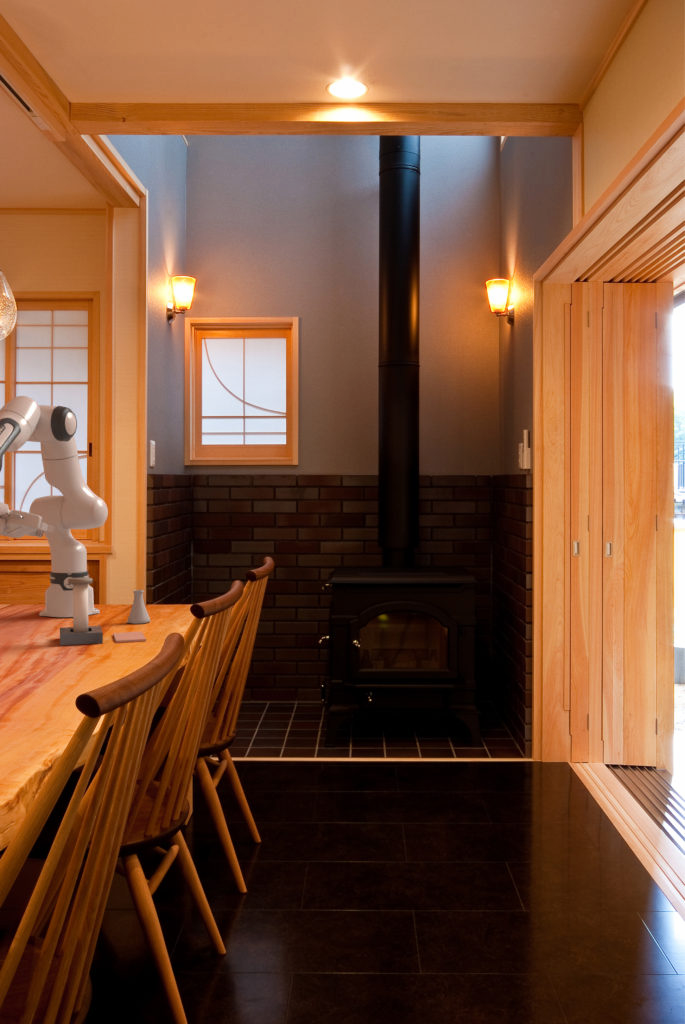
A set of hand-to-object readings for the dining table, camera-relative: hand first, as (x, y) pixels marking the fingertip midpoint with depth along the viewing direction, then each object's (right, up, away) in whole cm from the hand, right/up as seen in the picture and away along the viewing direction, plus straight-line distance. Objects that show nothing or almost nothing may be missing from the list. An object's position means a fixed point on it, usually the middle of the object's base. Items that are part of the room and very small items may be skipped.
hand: (47, 532), depth 238 cm
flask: (+17, -29, +32) cm, 47 cm away
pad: (+21, -30, +6) cm, 37 cm away
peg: (+8, -30, +2) cm, 31 cm away
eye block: (+8, -30, +2) cm, 31 cm away
